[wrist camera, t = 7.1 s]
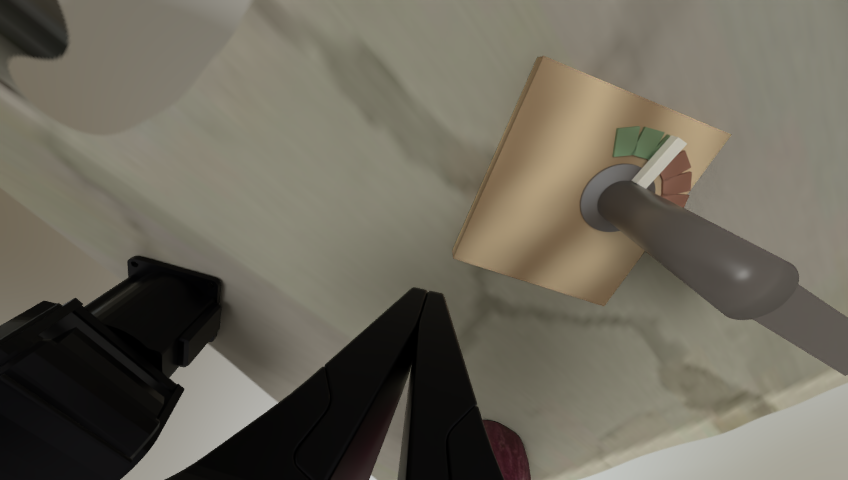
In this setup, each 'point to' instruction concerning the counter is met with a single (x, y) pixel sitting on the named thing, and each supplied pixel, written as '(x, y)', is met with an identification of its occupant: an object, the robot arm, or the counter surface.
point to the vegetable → (508, 451)
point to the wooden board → (575, 181)
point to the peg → (724, 264)
